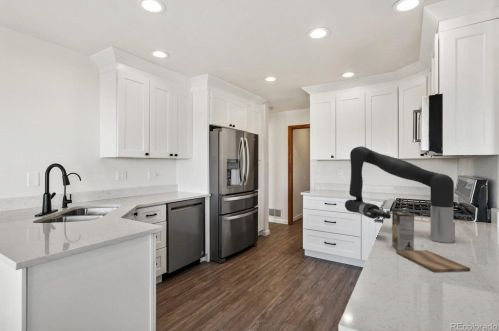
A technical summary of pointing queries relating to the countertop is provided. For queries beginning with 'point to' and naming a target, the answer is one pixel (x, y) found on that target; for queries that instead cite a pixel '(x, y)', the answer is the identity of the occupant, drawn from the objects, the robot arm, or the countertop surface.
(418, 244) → the countertop surface
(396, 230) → the coffee box
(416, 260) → the cutting board
